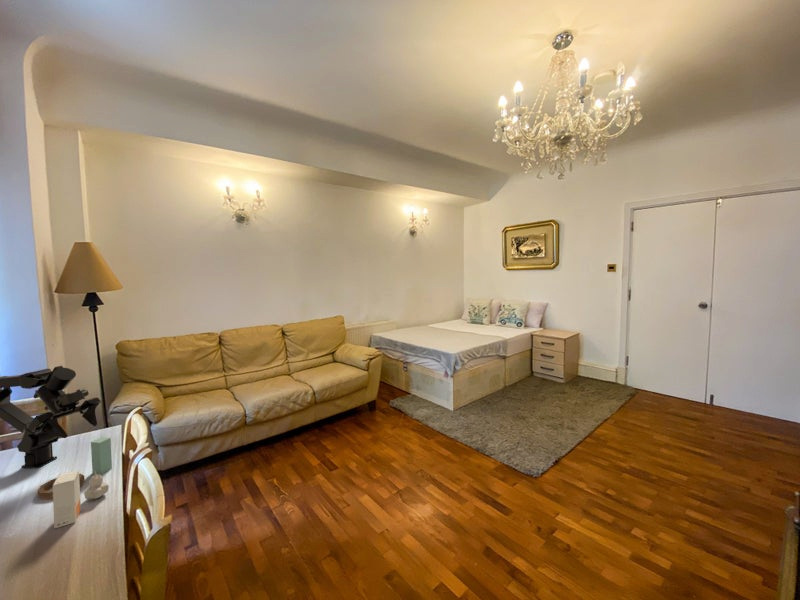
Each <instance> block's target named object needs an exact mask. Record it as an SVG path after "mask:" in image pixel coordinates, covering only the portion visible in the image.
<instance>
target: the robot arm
mask: <svg viewBox="0 0 800 600" xmlns="http://www.w3.org/2000/svg"><path fill="white" fill-rule="evenodd" d="M76 376H77V374H76V371H75V370H73V369H71V368H69V367H63V365H58V366H55V367H54V368H53V369H51V368H44V369H39V370H35V371H29V372H25V373H22V374H18V375H17V374H16V375H3V376H0V419H1V420H2V421H4V422H6V423H7V424H8V425H10V426H11V427H13V428H14V429H16V430H17V431H19V432H20V433H21V441H20V442H18V444H17V445H16V446H17V450H18V452H19V453H24V456H23V457H24V464H23V465H21V467H20V468H21V469H23V468H27V469H29V468H41V467H42V466H45V465H47V464H48V463H47V462H49V461H51V460H52V461H54V460H56V459H58V456H56V455H55V456H54V453H53V443H56V442H58V440H59V438H63V439H66V438H68V434H67V432H66V430H64V428H63V427H62V426H61V425H60V423H59V422H58V420H59V419H61V418H64V417H68V416H70V415H73V414H76V413H80V415H81V414H82V415H81V417H82V418H83V419H85V420H86V421H87V422H88V424H90V425H91V426H93V427H96V426H97V425H98V422H97V420H98V419H97V416H96V409H97V408H98V407H99V405H100V404H101V403H102V401H101V399H100V398H99V397H92V398H89V399H86V397H87V396H89V394H90V393H89V391H88V389H86V387H81V388H79V389H76V391H74V392H71V393H70V392H68V393H66V392H65V391H64V390H65V389H67V387H68V386H69V385H70V384H71V383H72V381H73V380H74V378H75V377H76ZM14 387H20V388H22V389H26V390H27V389H28V390H31V389H35V388H38V389H36V390H35V391H34V394H33V399H37V398H38V399H40V400H41V402H42V403H43V404H44V408H43V409H44V410H45V411H47V412H44V413H42V414H37V415H36V416H35V417H33V416H32V415H30V414H29V413H27V412H26V411H24V410H22V409H21V408H19V407H18V406H16V405H15V404H14V403H12V402H11V398H12V397H11V394H12V393H13V390H12V388H14ZM85 399H86V400H85ZM81 400H84V401H83V402H82V403H81V404H80V401H81ZM79 404H80V405H79ZM48 410H49V411H48ZM54 457H55V458H56V459H55V458H54ZM53 459H54V460H53ZM52 461H51V462H52ZM46 463H47V464H46ZM49 463H50V462H49ZM44 464H45V465H44Z"/></svg>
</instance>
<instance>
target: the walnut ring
mask: <svg viewBox="0 0 800 600" xmlns="http://www.w3.org/2000/svg"><path fill="white" fill-rule="evenodd" d="M57 478H58V477H56V478H53V479H51V480H48V481H46V482H45V483H43V484H42V485H40V486H39V488H38V489H37V491H36V492H37V497H38V498H39V499H40V500H53V490H50V489H51V488H52V489H53V484H54V483H55V481H56V479H57ZM79 483H80V488H81V487H83V485H84V483H85V475H84V474H83V473H79Z"/></svg>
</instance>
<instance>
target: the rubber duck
mask: <svg viewBox="0 0 800 600" xmlns="http://www.w3.org/2000/svg"><path fill="white" fill-rule="evenodd" d="M93 474H94V475H91V478H90V479H89V480H88V484H89V485H88V487H87V488H86V489H85V491H84V492H83V494H84V498H85V499H86V500H96V499H98V498H99V499H100V498H101V497H102V496H104V495H105V494H106V493H108V492H109V484H108V483H107V482H104V479H103V476H102V474H96V472H95V473H93Z"/></svg>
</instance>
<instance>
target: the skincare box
mask: <svg viewBox="0 0 800 600" xmlns="http://www.w3.org/2000/svg"><path fill="white" fill-rule="evenodd" d="M79 474H80V471H79V470H74V471H71V472H66V473H62V474H59V475H58V476H57V477H56V478H57V479H56V481H55V483H54V484H53V487H52V491H53V499H52V500H53V501H52V503H53V505H52V506H53V523H54V524H53V525H54V526H53V527H54V529H58V528H60V527H64V526H67V525H71V524H74V523H76V521H77V519H78V517H79V515H80V512H81V510H82V509H81V490H80V489H81V487H80V483H79Z"/></svg>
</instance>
